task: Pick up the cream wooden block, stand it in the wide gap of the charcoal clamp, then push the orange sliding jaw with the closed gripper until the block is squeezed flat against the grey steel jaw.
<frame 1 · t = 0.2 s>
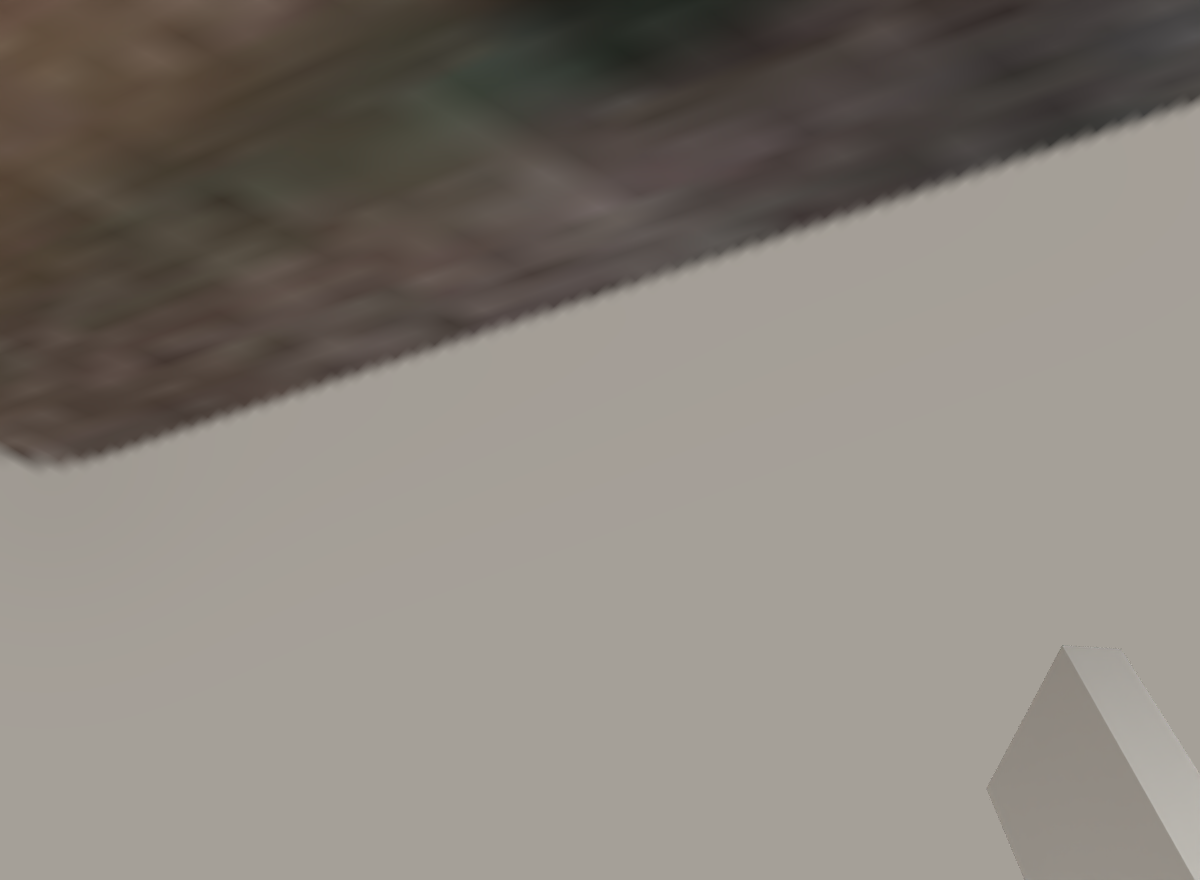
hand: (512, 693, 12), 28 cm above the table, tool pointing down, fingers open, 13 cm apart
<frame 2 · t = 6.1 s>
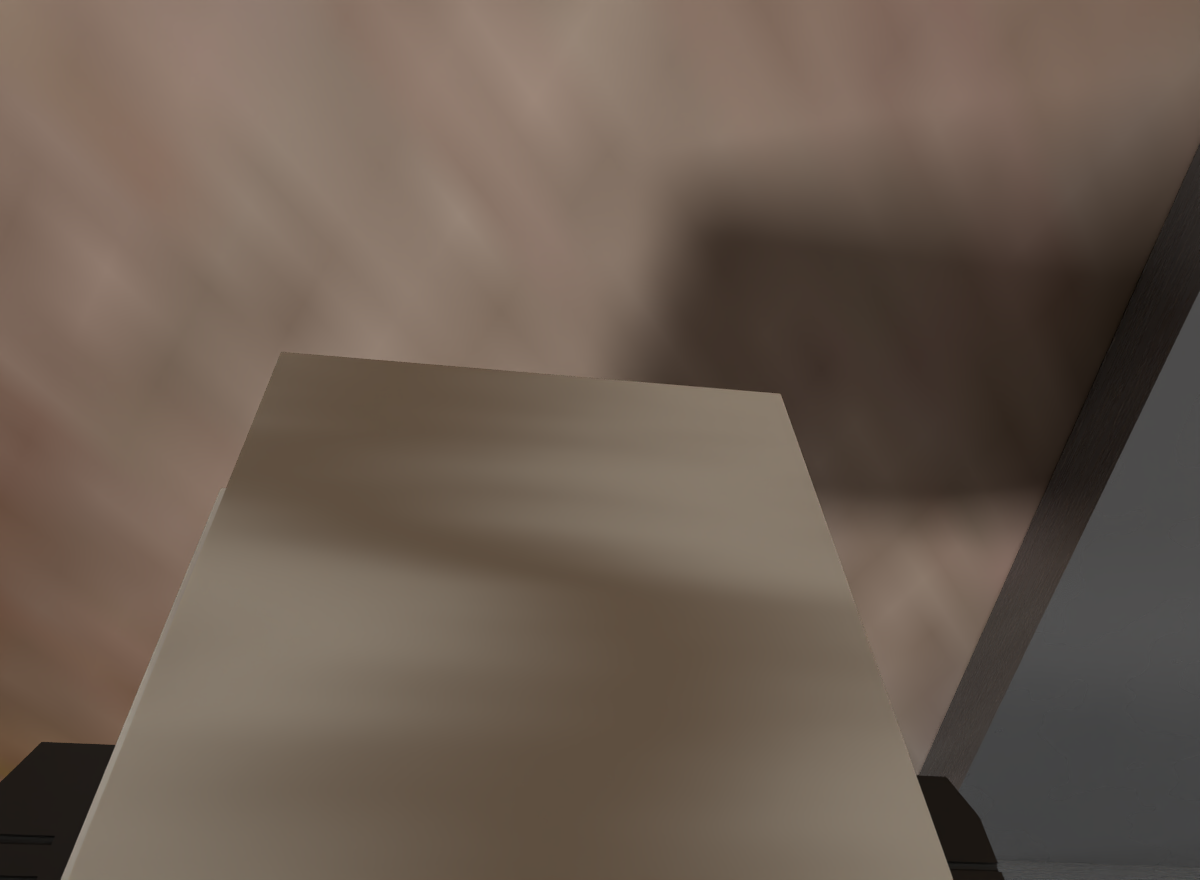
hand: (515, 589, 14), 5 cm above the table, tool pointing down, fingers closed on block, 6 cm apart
block: (517, 561, 14), point 5 cm above the table, touching gripper
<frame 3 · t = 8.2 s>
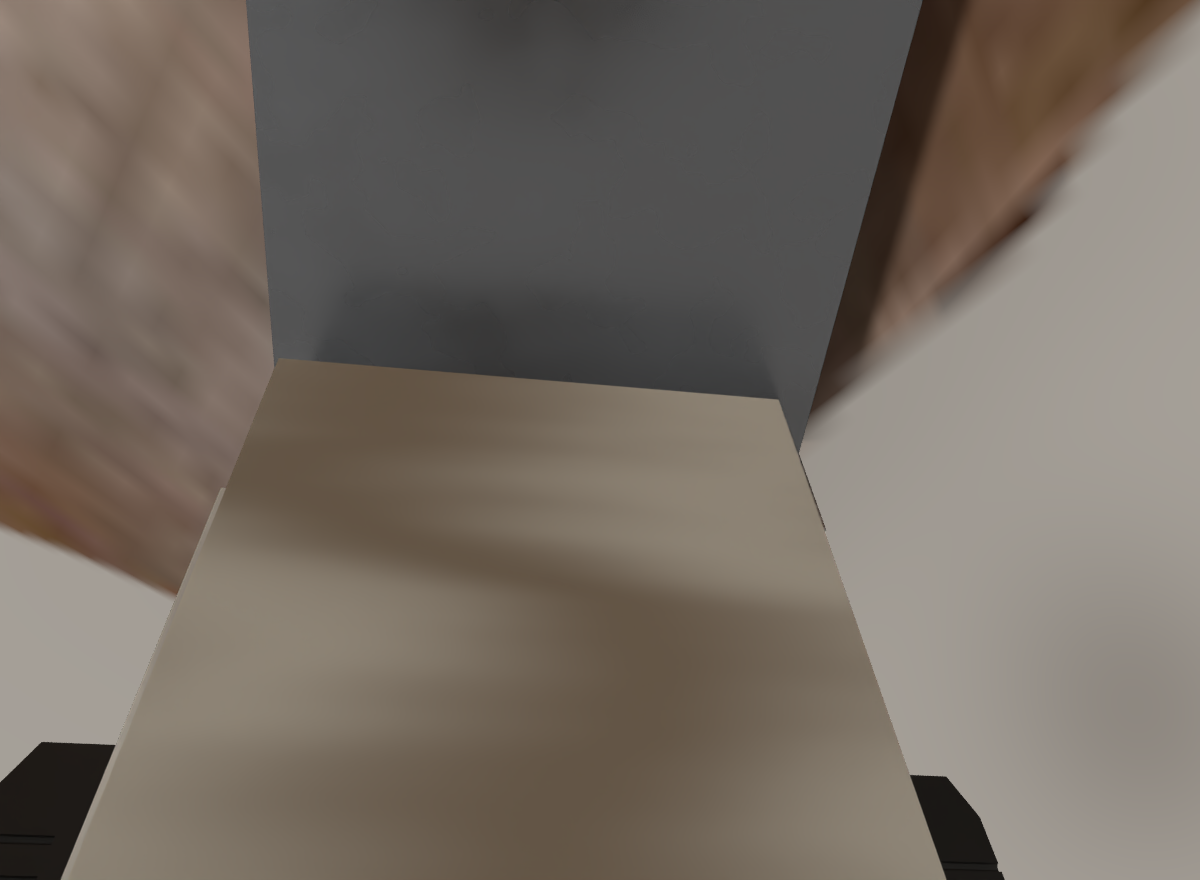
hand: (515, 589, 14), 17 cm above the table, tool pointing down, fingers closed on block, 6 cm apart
block: (515, 567, 14), point 17 cm above the table, touching gripper
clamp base: (583, 23, 26), on the table
when the fingers open (2 cm above the table, at t = 10.7 s): block stays where it is, resting on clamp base.
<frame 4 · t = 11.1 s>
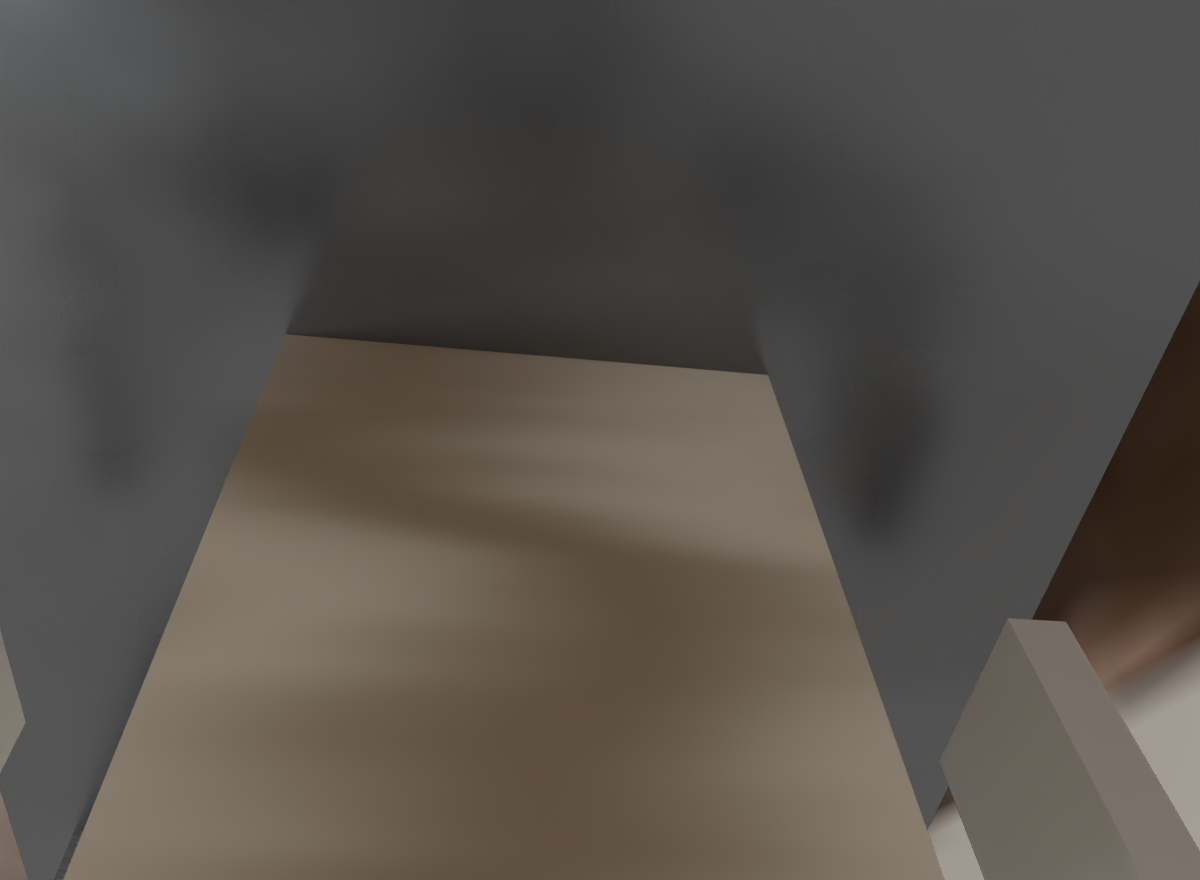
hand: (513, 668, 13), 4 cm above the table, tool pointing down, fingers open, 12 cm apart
block: (513, 539, 15), point 1 cm above the table, touching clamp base
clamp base: (535, 306, 14), on the table
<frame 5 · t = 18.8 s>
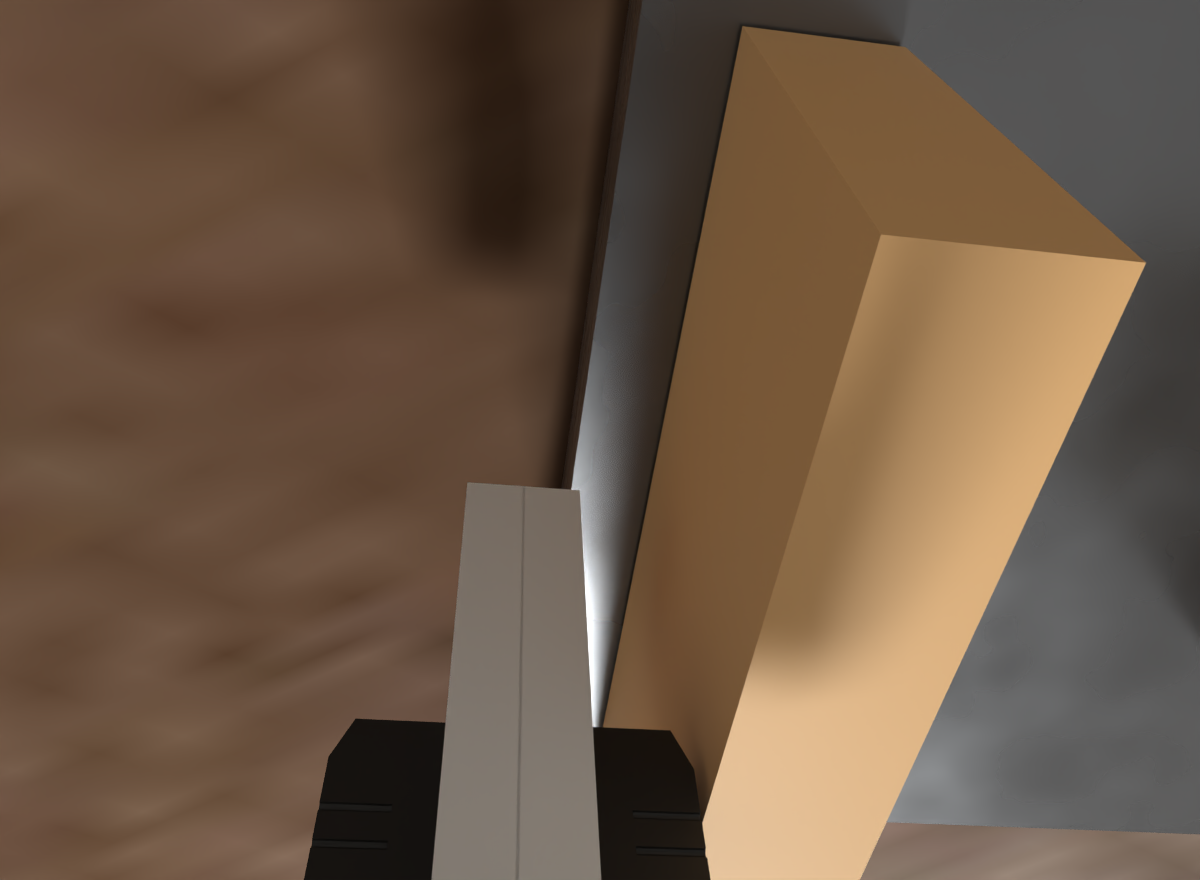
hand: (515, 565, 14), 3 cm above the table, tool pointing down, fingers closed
sliding jaw: (743, 640, 14), point 5 cm above the table, slide at 0.7 cm, touching gripper
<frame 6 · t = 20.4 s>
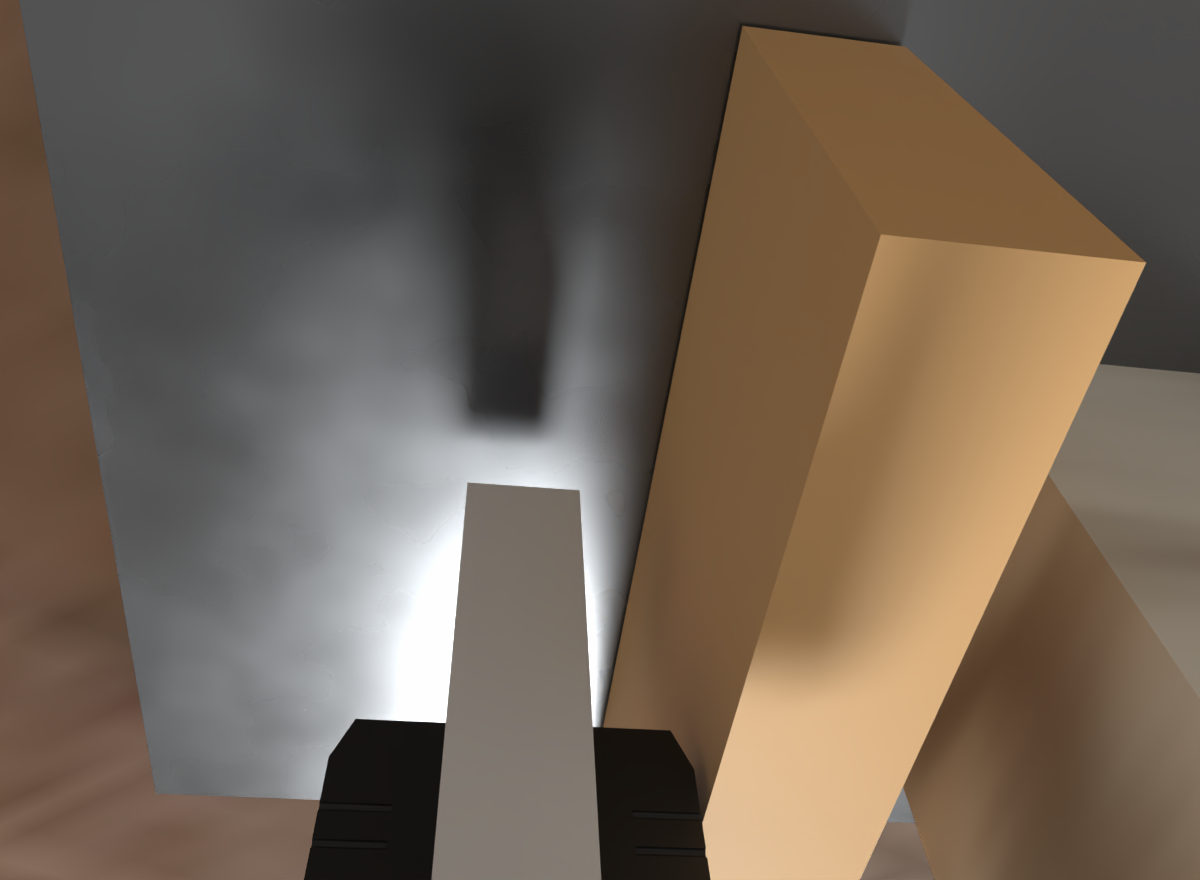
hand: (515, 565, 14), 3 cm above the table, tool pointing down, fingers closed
block: (1079, 526, 17), point 1 cm above the table, touching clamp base
sliding jaw: (743, 640, 14), point 5 cm above the table, slide at 7.7 cm, touching gripper
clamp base: (885, 457, 18), on the table
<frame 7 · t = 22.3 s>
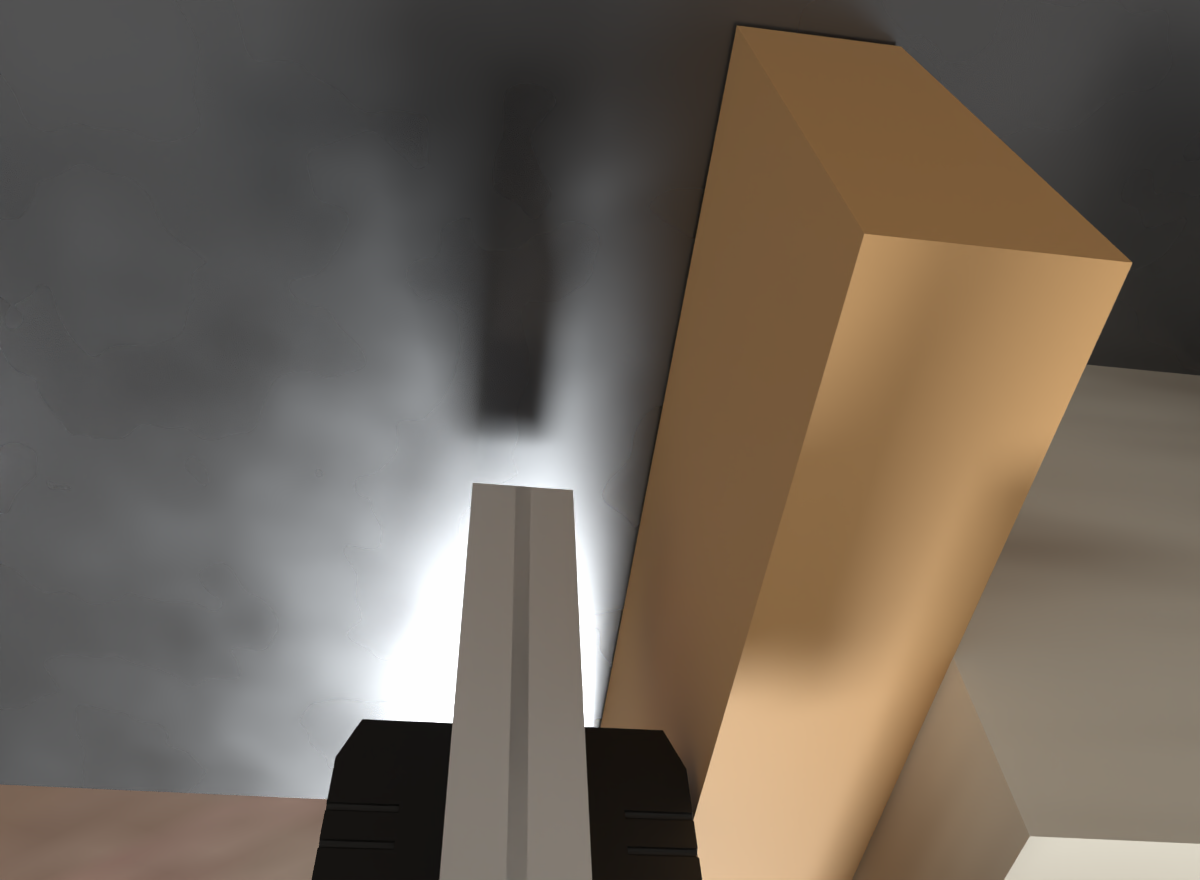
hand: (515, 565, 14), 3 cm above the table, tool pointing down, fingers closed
block: (950, 518, 17), point 1 cm above the table, touching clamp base, sliding jaw
sliding jaw: (737, 641, 14), point 5 cm above the table, slide at 14.0 cm, touching block, gripper
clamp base: (518, 427, 17), on the table
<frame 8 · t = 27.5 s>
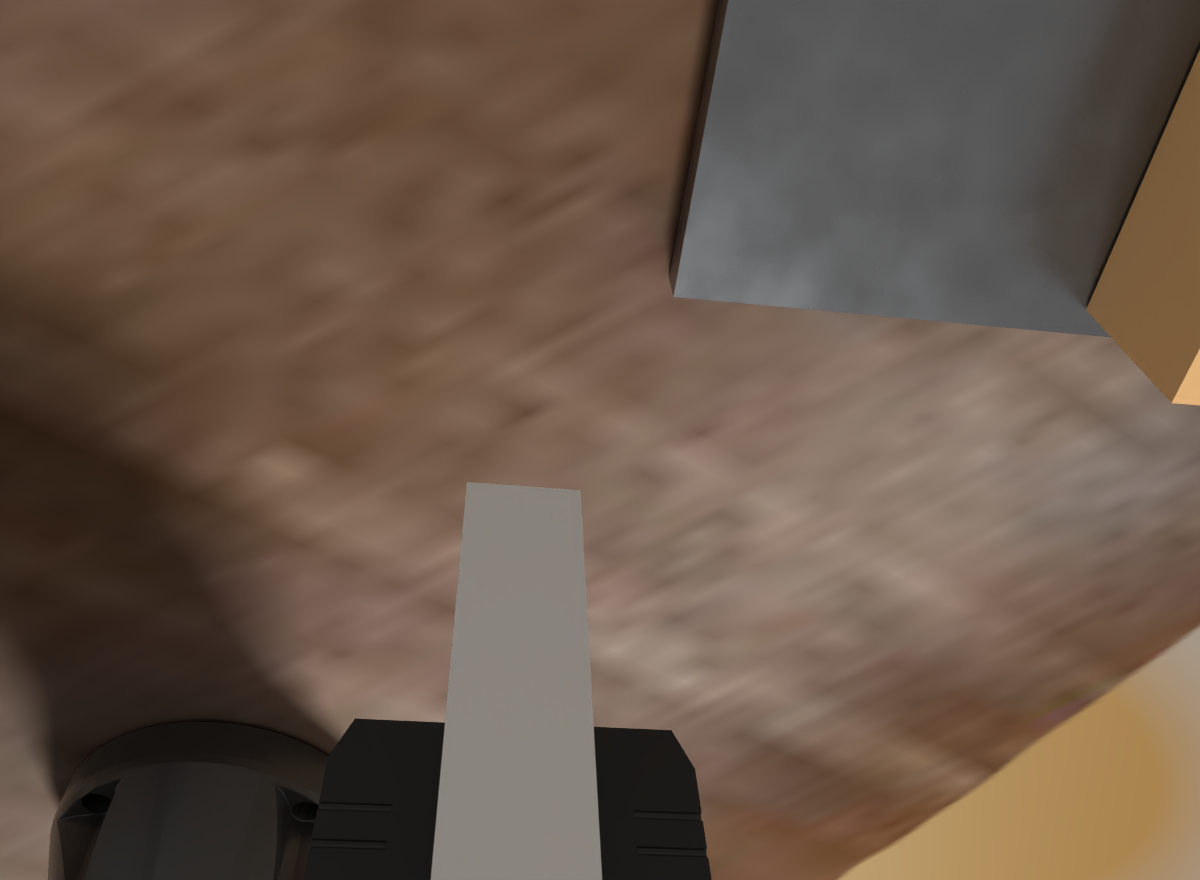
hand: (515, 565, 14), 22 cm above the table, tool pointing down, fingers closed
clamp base: (1090, 88, 34), on the table
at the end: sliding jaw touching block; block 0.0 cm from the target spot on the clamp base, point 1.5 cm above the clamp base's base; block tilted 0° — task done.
